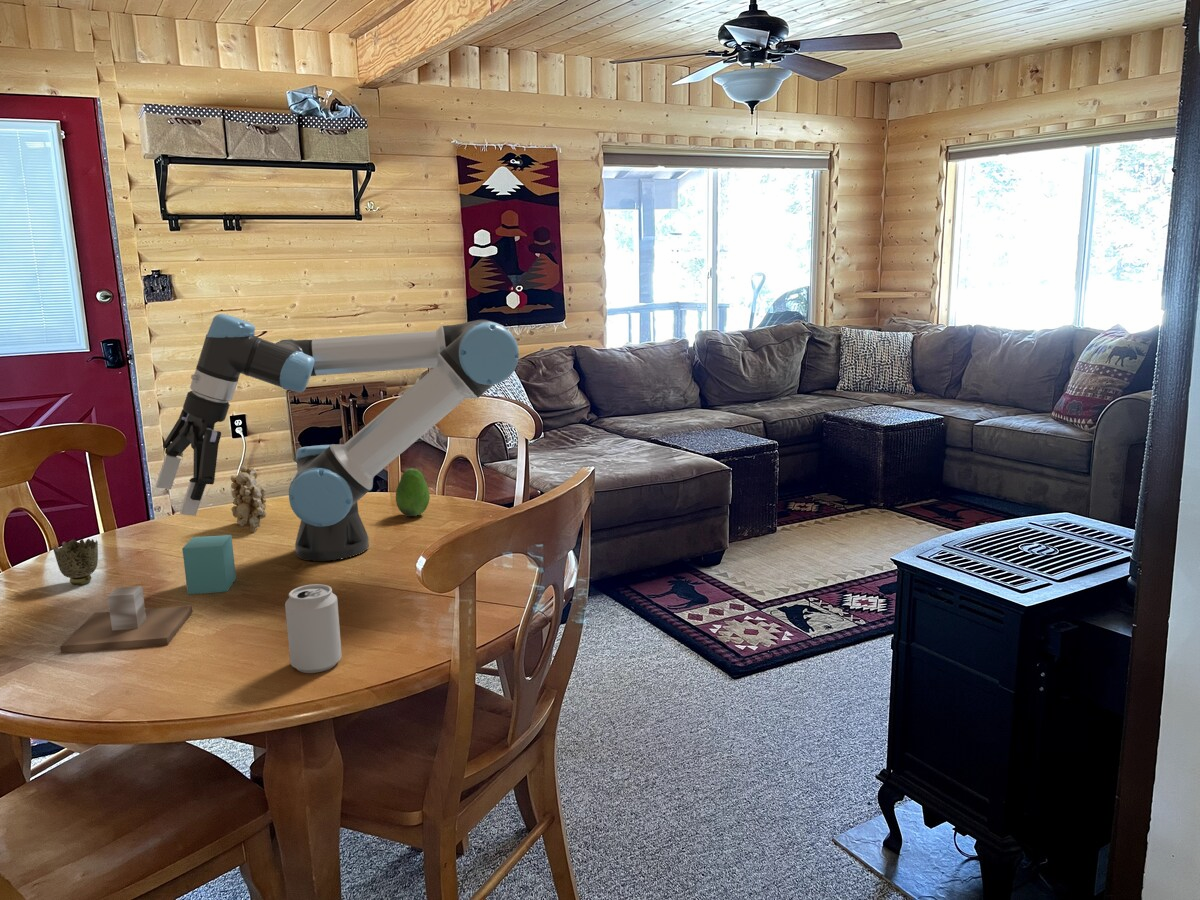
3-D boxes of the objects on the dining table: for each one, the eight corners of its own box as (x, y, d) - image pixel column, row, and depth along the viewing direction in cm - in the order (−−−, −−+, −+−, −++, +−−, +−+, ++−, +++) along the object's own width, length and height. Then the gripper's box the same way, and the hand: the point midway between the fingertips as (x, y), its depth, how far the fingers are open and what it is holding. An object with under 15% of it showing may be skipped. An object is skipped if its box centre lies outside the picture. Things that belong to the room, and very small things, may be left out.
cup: (82, 591, 166) (77, 551, 164) (49, 589, 168) (43, 549, 166) (111, 577, 173) (106, 539, 172) (79, 575, 175) (74, 537, 173)
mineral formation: (265, 518, 214) (259, 458, 211) (276, 531, 203) (271, 468, 199) (230, 523, 210) (224, 462, 207) (240, 537, 199) (233, 473, 195)
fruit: (403, 511, 218) (400, 464, 216) (434, 511, 217) (431, 464, 215) (392, 520, 210) (389, 471, 208) (424, 520, 210) (421, 471, 207)
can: (297, 655, 137) (291, 582, 135) (346, 652, 138) (340, 580, 135) (285, 676, 130) (277, 600, 127) (336, 674, 130) (330, 598, 128)
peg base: (192, 612, 155) (188, 573, 154) (167, 644, 142) (162, 602, 140) (95, 619, 153) (90, 579, 151) (60, 653, 139) (54, 610, 138)
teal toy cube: (236, 578, 172) (231, 534, 170) (227, 591, 165) (222, 545, 163) (198, 581, 170) (193, 537, 169) (187, 594, 164) (182, 548, 162)
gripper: (167, 373, 169) (134, 474, 172) (214, 412, 153) (177, 524, 155) (205, 382, 175) (172, 480, 177) (255, 420, 158) (218, 528, 160)
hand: (175, 500), depth 166 cm, fingers open, 13 cm apart
